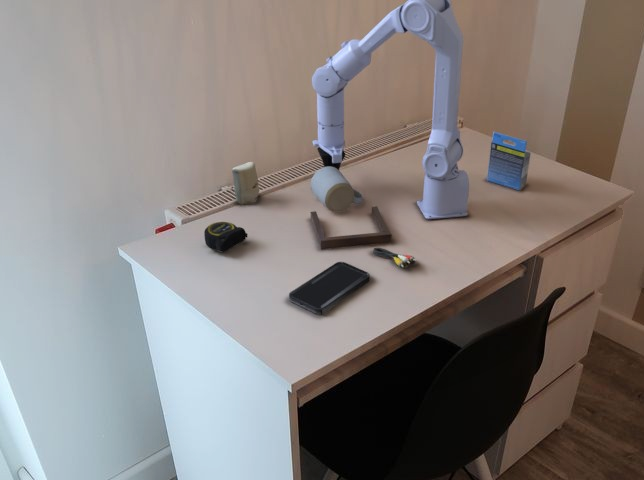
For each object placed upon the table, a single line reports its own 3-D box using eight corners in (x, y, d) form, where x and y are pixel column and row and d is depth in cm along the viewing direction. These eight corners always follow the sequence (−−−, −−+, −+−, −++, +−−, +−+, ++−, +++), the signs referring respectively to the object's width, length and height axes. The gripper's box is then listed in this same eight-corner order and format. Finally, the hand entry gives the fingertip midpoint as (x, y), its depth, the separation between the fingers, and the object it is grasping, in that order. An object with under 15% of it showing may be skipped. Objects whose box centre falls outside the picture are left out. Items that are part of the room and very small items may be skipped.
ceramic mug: (325, 217, 153) (325, 184, 148) (310, 200, 158) (309, 168, 154) (369, 208, 157) (371, 176, 153) (353, 192, 163) (354, 160, 158)
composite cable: (370, 253, 142) (370, 242, 141) (388, 245, 145) (388, 235, 143) (403, 275, 137) (403, 264, 135) (421, 266, 139) (422, 255, 138)
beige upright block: (239, 192, 160) (236, 159, 155) (262, 194, 160) (260, 160, 155) (233, 204, 155) (230, 170, 150) (257, 206, 155) (254, 171, 150)
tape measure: (223, 258, 138) (221, 241, 136) (198, 247, 141) (195, 230, 139) (248, 244, 143) (247, 227, 141) (223, 233, 146) (221, 216, 143)
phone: (372, 274, 134) (319, 310, 124) (372, 279, 135) (320, 316, 125) (339, 260, 137) (285, 294, 127) (339, 265, 138) (286, 299, 128)
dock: (376, 214, 155) (377, 206, 154) (391, 242, 146) (391, 234, 145) (310, 220, 152) (310, 211, 150) (320, 249, 143) (320, 240, 141)
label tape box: (526, 185, 170) (534, 135, 163) (519, 191, 167) (527, 141, 160) (493, 175, 174) (500, 126, 166) (485, 181, 171) (492, 131, 163)
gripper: (306, 110, 159) (308, 167, 168) (318, 135, 148) (319, 195, 157) (338, 108, 161) (338, 165, 169) (351, 133, 150) (351, 193, 158)
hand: (331, 179), depth 163 cm, fingers closed
